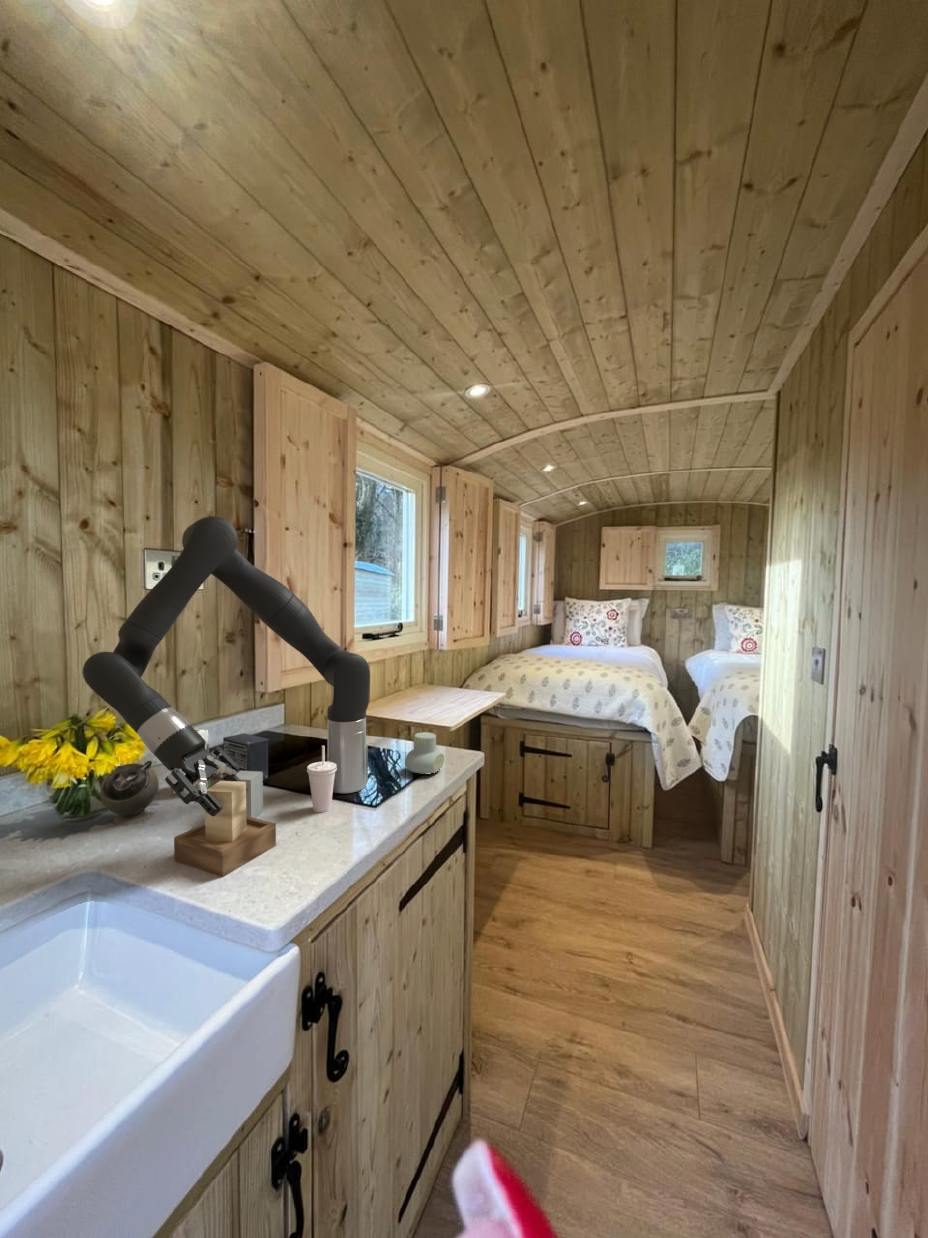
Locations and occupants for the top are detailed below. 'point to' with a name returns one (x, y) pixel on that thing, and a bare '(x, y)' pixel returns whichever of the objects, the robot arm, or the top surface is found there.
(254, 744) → the small box
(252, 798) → the grey block
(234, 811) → the oak block
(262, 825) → the walnut tray
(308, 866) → the top surface
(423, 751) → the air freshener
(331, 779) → the smoothie
